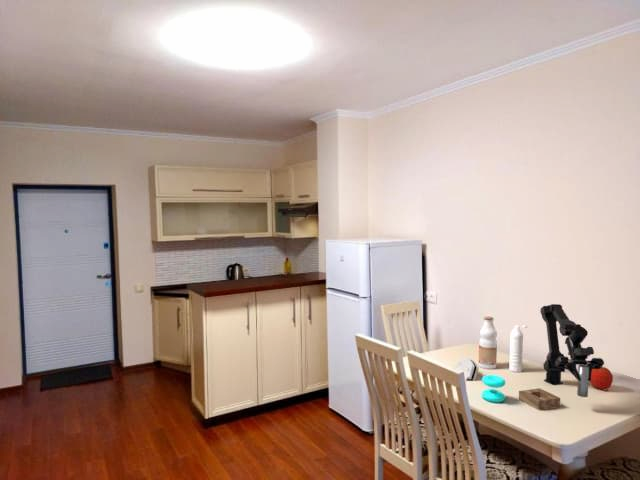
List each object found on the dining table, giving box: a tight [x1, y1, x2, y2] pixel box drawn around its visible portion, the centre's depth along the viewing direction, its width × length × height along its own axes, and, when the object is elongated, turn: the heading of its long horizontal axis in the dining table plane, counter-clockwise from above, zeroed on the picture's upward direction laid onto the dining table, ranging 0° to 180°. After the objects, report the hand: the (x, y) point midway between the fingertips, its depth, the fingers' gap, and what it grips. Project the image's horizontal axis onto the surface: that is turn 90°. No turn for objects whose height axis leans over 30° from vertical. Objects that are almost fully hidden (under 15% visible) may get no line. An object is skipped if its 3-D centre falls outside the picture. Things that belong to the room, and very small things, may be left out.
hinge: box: [453, 356, 479, 381], centre depth 243 cm, size 17×5×10 cm, turn 7°
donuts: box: [481, 374, 506, 403], centre depth 212 cm, size 10×10×10 cm
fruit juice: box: [478, 316, 498, 370], centre depth 256 cm, size 9×9×28 cm
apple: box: [589, 366, 614, 391], centre depth 226 cm, size 10×10×12 cm
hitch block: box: [518, 387, 561, 411], centre depth 208 cm, size 12×12×4 cm
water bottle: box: [508, 324, 528, 373], centre depth 251 cm, size 9×6×25 cm
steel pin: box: [576, 365, 589, 398], centre depth 200 cm, size 4×4×13 cm
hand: (584, 380), depth 199 cm, fingers closed on steel pin, 4 cm apart
